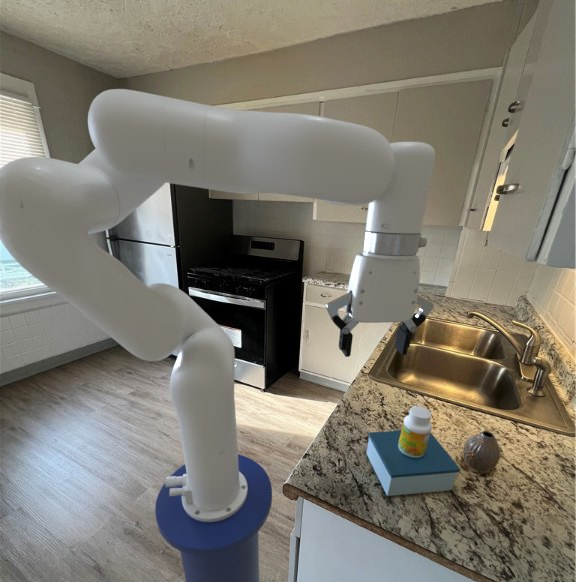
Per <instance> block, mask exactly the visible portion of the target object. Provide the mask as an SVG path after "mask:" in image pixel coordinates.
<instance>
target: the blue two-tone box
mask: <svg viewBox="0 0 576 582" xmlns="http://www.w3.org/2000/svg"><path fill="white" fill-rule="evenodd" d="M401 431H402V430H392V431H391V430H390V431H387V430H386V431H374V432H368V435H367V436H368V440H367V446H366V456H367V458H368V460H369V462H370V464H371V466H372V468H373V470H374V472H375V474H376V476H377V478H378V480H379V482H380V484H381V487H382V488H383V491H384V492H385V495H386V496H387V497H393V496H402V495H414V494H415V495H416V494H424V493H434V492H445V491H446V492H447V491H453V487H454V484H455V482H456V479H457V476H458V474H459V473H461V470H462V469H461V468H460V466H459V465H458V464H457V463H456V461H455V460H454V459H453V458H452V457H451V456H450V454H449V453H448V452H447V451H446V449H445V448H444V447H443V445H442V444H441V443H440V442H439V440H438V439H437V438H436V437H435V436H434V434H433V433H432V432H431V433H430V436H429V440H428V443H427V447H426V450H425V453H424V455H423V456H421V457H419V458H413V457H409V456H407V455H405V454H403V453H402V452H401V451H400V449H399V447H398V443H399V439H400V435H401Z"/></svg>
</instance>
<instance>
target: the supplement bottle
mask: <svg viewBox="0 0 576 582" xmlns="http://www.w3.org/2000/svg"><path fill="white" fill-rule="evenodd" d="M431 419H432V413H431V411H430V410H429V409H427V408H426V407H423V406H419V405H414V406H412V407H410V409H409V413H408V414H407V415H406V416H405V417H404V419H403V422H402V427H401V430H400V431H401V435H400V439H399V443H398V447H399V449H400V451H401V452H402V453H403V454H405V455H407V456H409V457H413V458H419V457H421V456H423V455H424V453H425V450H426V447H427V443H428V440H429V436H430V433H432V429H433V425H432V422H431Z"/></svg>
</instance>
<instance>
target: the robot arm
mask: <svg viewBox="0 0 576 582" xmlns="http://www.w3.org/2000/svg"><path fill="white" fill-rule="evenodd" d="M87 114H88V115H87V128H88V129H87V130H88V133H89V136H90V140H91V142H92V144H93V146H94V148H95V149H93V150H92V151H91V152H90V153H89V154H88V155H86V157H84V158H83V159H82V160H81V161H80V162H79V163H75V162H69V161H65V160H62V159H58V158H57V159H56V158H51V157H43V156H42V157H41V156H30V157H21V158H18V159H14V160H11V161H9V162H8V163H6V164H4V165H3V166H1V168H0V241H1V243H2V245H3V246H4V248H5V249H6V251H7V252H8V253H9V255H11V257H12V258H13V259H14V260H15V261H16V262H17V263H18V265H20V266H21V267H22V268H23V269H24V270H25V271H27V273H29V274H30V275H31V276H33V277H34V278H35V279H36V280H38V281H39V282H41V283H42V284H43V285H45V286H46V287H47V288H49V289H50V290H52V291H53V292H55V293H56V294H57V295H58V296H60V297H61V298H62V299H64V300H65V301H67V302H68V303H69V304H70V305H71V306H73V307H74V308H75V309H77V311H79V312H80V313H81V314H83V316H84V317H85V318H87V319H88V320H89V321H90V322H92V323H93V324H94V325H95V326H97V328H99V329H100V330H101V331H103V332H104V333H105V334H106V335H108V336H109V337H110V338H111V339H113V340H114V341H115V342H116V343H117V344H119V345H120V346H121V347H123V348H124V349H125V350H126V351H128V353H130V354H132V355H133V356H135V357H137V358H139V359H141V360H142V361H147V362H159V361H162V360H164V359H166V358H168V357H170V356H171V355H173V353H176V354H177V357H176V359H175V363H174V365H173V368H172V371H171V373H170V379H169V394H170V399H171V402H172V405H173V407H174V410H175V414H176V417H177V422H178V427H179V428H178V429H179V434H180V440H181V445H182V453H183V459H184V464H185V466H186V472H187V474H183V476H179V477H176V476H171V475H170V476H171V477H170V476H166V477H165V480H164V483H165V486H166V487H176V486H182V487H183V488H170V491H169V496H177V495H182V504H183V507H184V510H185V511H186V513H187V514H188V515H189V516H191V517H192V518H194V519H196V520H198V521H202V522H217V521H220V520H224V519H226V518H228V517H230V516H232V515H233V514H235V513H236V512H237V511H238V510H239V509H240V508H241V507H242V505H243V504H244V502H245V500H246V497H247V493H248V487H247V481H246V479H245V477H244V475H243V474H242V473H241V472H239V465H238V454H239V449H238V430H237V416H236V414H237V413H236V402H235V401H236V400H235V366H236V365H235V359H236V358H235V357H236V351H235V346H234V343H233V340H232V339H231V337H230V336H229V334H228V333H226V331H225V330H224V329H223V328H222V327H221V326H220V325H219V324H218V323H217V322H216V321H215V320H214V319H213V318H212V317H211V316H210V315H209V314H208V313H207V312H205V310H203V308H202V307H201V306H200V305H198V304H197V302H195V301H194V299H192V298H191V297H190V296H189V295H188V294H187V293H186V292H185V291H183V290H182V289H180V288H178V287H177V286H175V285H171V284H168V283H164V282H163V283H162V282H157V283H156V282H155V283H151V284H148V285H147V284H145V283H144V282H143V281H142V280H141V279H140V278H138V277H137V276H136V275H135V274H134V273H133V272H132V271H131V270H130V269H129V268H128V267H127V266H126V265H125V264H124V263H123V262H122V261H120V260H119V259H118V258H116V257H115V256H114V255H112V254H111V253H109V252H108V251H106V250H105V249H103V248H101V247H100V246H99V245H97V243H95V242H94V241H93V240H92V239H91V238H90V235H91V234H96V233H101V232H104V231H108V230H110V229H113V228H114V227H116V226H117V225H119V224H121V222H123V221H124V220H125V219H126V218H127V217H129V216H130V215H131V214H132V213H134V211H135V210H137V209H138V208H139V207H140V206H141V205H142V204H143V203H145V202H146V201H147V200H148V199H150V198H151V197H152V196H153V195H154V194H155V193H156V192H157V191H159V190H160V189H161V188H162V187H163V186H164V185H165V184H166V183H167V184H173V185H179V186H187V187H193V188H200V189H205V190H206V189H207V190H212V191H218V192H224V193H231V194H241V195H254V194H276V195H277V194H278V195H284V196H292V197H293V196H294V197H302V198H308V199H313V200H321V201H323V202H325V203H327V204H330V205H333V206H344V207H345V206H352V207H353V206H354V207H360V206H365V205H368V207H367V215H366V223H365V232H364V239H363V247H362V252H358V253H356V255H355V259H354V261H353V264H352V268H351V272H350V275H349V279H348V280H349V281H348V285H347V290H346V293H345V294H343V295H341V296H339V297H336V298H335V299H333V300H331V301H329V302H327V303H325V309H326V310H327V313H328V315H329V317H330V319H331V321H332V322H333V324H334V325H335V326H336V327H337V328H338V329H339V337H338V349H339V350H340V351H341V353H343V355H344V357H345V358H349V357H351V353H352V345H353V339H354V338H353V336H354V335H353V333H352V330H354V329H355V327H356V326H357V325H358V324H359V323H360V324H361V323H362V324H363V323H364V324H365V323H366V324H367V323H369V324H374V323H375V324H376V323H377V324H378V323H400V324H401V325H399V326H398V328H397V331H396V337H395V342H394V349H395V350H397V352H398V353H399V354H400V355H402V356H407V354H408V351H409V350H408V349H409V348H410V346H411V341H412V337H413V334H414V333H416V332H417V330H418V328H419V327H420V326H421V325H422V324H423V323H425V321H426V320H427V317H428V316H429V315H430V314H431V312H432V310H433V309H434V307H435V305H434V304H433V303H432V302H430V301H429V300H427V299H425V298H423V297H422V296H420V295H419V291H420V279H421V278H420V277H421V276H420V275H421V262H420V261H421V259H420V256H418V255H417V253H419V249H420V248H425V247H427V245H428V239H427V237H422V227H423V224H424V223H423V222H424V219H425V212H426V207H427V202H428V198H429V192H430V187H431V183H432V178H433V172H434V167H435V161H436V151H435V148H434V147H433V146H432V145H431V144H429V143H427V142H422V141H397V142H396V141H395V142H389V141H388V139H387V138H386V137H385V136H384V135H383V134H382V133H380V132H379V131H378V130H376V129H374V128H372V127H370V126H368V125H367V126H366V125H362V124H357V123H354V122H348V121H344V120H339V119H333V118H330V117H324V116H319V115H313V114H305V113H296V112H295V113H292V112H272V111H271V112H270V111H260V110H237V109H233V108H226V107H221V106H215V105H210V104H205V103H204V104H203V103H199V102H194V101H193V102H192V101H188V100H185V99H179V98H174V97H170V96H165V95H160V94H154V93H150V92H144V91H139V90H133V89H127V88H113V89H107V90H104V91H102V92H100V93H99V94H98V95H96V97H94V99H92V102H91V104H90V106H89V109H88V113H87ZM417 306H419V309H418V311H417V312H415V311H416V309H417V308H416V307H417ZM343 307H344V311H345V312H346V314H345V315H344V316H343V317H342V318H341V316H340V315H339V312H338V311H339V310H340V309H341V308H343Z"/></svg>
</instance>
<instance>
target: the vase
mask: <svg viewBox="0 0 576 582" xmlns="http://www.w3.org/2000/svg"><path fill="white" fill-rule="evenodd" d="M462 455H463V459H464V460H465V463H466V464H467V465H468V466H469V467H470V468H471V469H472V470H475V471H478V472H489V471H491V470H493V469H494V468H495V467H496V466H497V465H498V464H499V462H500V459H501V448H500V445H499V444H498V441H497V440H496V437H495V434H494V433H492V432H491V431H489V430H482V431H480V432H479V433H476V434H474V435H472V436H470V437H469V438H467V440H466V442H465V443H464V445H463V448H462Z"/></svg>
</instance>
